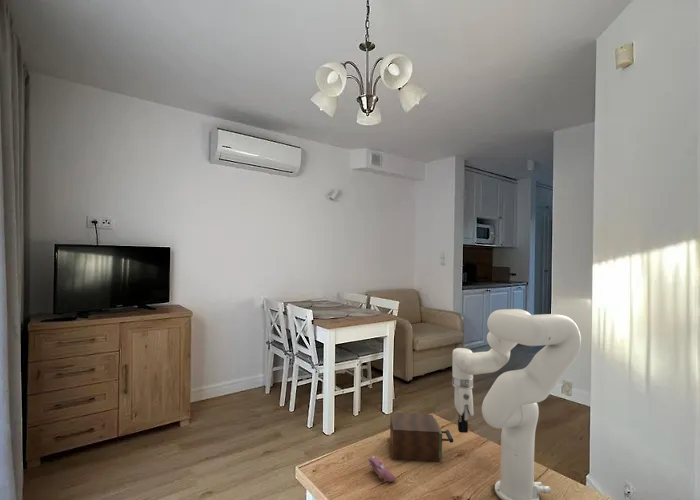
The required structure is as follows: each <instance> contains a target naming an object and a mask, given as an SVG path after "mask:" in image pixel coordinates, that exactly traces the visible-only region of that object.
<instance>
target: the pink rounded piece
mask: <svg viewBox="0 0 700 500" xmlns="http://www.w3.org/2000/svg"><path fill="white" fill-rule="evenodd" d="M367 461H368V464H367V465H368V466H369V467H370V468H372V469H373V472H374V473H375V474H376V475H378V478H379V479H380V480H385V481H386V482H389V483H393V482H394V481H395V480H396V477H395V475H394V474H393V473H392V472H391V471H389V469H387V467H386V466H385V464H384V463H383V460H382V459H380V458H379V457H377V456H375V455H373V456H369V458H367Z"/></svg>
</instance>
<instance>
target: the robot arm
mask: <svg viewBox="0 0 700 500" xmlns="http://www.w3.org/2000/svg"><path fill="white" fill-rule="evenodd" d="M486 324H487V329H488V333H487V335H486V341H487V344H488V345H489V347H490V349H489V350H487V351H476V352H473V350H471V349H469V348H465V347H457V348H454V349H453V350H452V361H451V363H452V365H451V366H452V370H451V371H452V374H451V375H452V377H451V378H452V382H451V383H452V387H454V392H453V393H454V399H453V401H454V408H455V410H456V411H457V419H458V420H457V431H458V432H459V433H465V434H466V433H468V432H469V415H470V417H474V414H475V413H474V396H473V388H474V376H476V375H483V374H491V373H496V372H497V371H499V370H501V368H503V367H504V366H505V365H506V364H508V362H509V361H510V357H511V350H513V349H514V348H515V347H516V346H517V345H518V344H519V345H522V346H527V347H540V346H543V348H541V349H539V351H538V352H536V353H535V354H534V355H533V357H532V359H531V361H530V362H529V363H528V364H527V366H525V367H524V368H521V369H514V370H508V371H505V372H502V373H501V374H500V375H499V376H497V378H496V379H495V380H494V382H493V384H492V385H491V387H490V389H489V390H488V392H487V393H486V395H485V396H484V399H483V400H482V404H481V414H482V418H483V420H484V422H485V423H486V424H487V425H488V426H490V427H491V428H494V429H497V430H501V433H500V469H499V471H500V473H499V480H497V481H496V482H495V484H494V492H495V494H496V495H497V497H498V498H499V499H500V500H540V494H551V492H552V491H551V487H550V486H549V485H543V483H542V481H535V448H536V447H535V445H536V444H535V442H536V430H537V425H538V420H539V415H540V411H539V409H540V408H539V404H538V403H541V402H544V400H546V399H547V398H548V397H549V396H550V394H551V393H552V392H553V390H554V389H555V388H556V386H557V385H558V384H559V382H560V381H561V379H562V378H563V376H564V374H566V373H567V371H568V370H569V369H570V368H571V367H572V365H573V364H574V363H575V361H576V360H577V358H578V357H579V354H580V351H581V348H582V335H581V332H580V331H581V330H580V329H579V327H578V325H577V323H576V322H575V321H574V320H573V319H572V318H570V317H568V316H567V315H564V314H558V313H548V314H547V313H544V314H543V313H542V314H541V313H540V314H531V313H530V312H529V311H527V310H524V309H521V308H507V309H506V308H505V309H503V308H502V309H497V310H494V311H493V312H491V313H490V314H489V316H488V317H487V322H486Z"/></svg>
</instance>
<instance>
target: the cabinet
mask: <svg viewBox="0 0 700 500" xmlns="http://www.w3.org/2000/svg"><path fill="white" fill-rule="evenodd" d="M434 418H435V417H434V414H426V413H405V412H390V422H389V423H390V425H389V426H390V427H389V431H390V432H389V441H390V442H389V443H390V451H391V457H392V460H402V461H403V460H404V461H419V462H439V461H440V458H439V430H438V427H437V425H436V422H435V420H434Z"/></svg>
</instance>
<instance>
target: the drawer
mask: <svg viewBox="0 0 700 500" xmlns="http://www.w3.org/2000/svg"><path fill="white" fill-rule="evenodd" d="M433 418H434V420H435V422H436V425H437V427H438V430H439V459H443V442H449V443H450V444H451V443H454V441H455V440H454V438H453V436H452V434H451V432H450V429H445V430H442V429H441V428H440V425H439V423H438V420H437V418H436V417H433ZM443 434H445V435H446V437H447V438H443Z"/></svg>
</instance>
